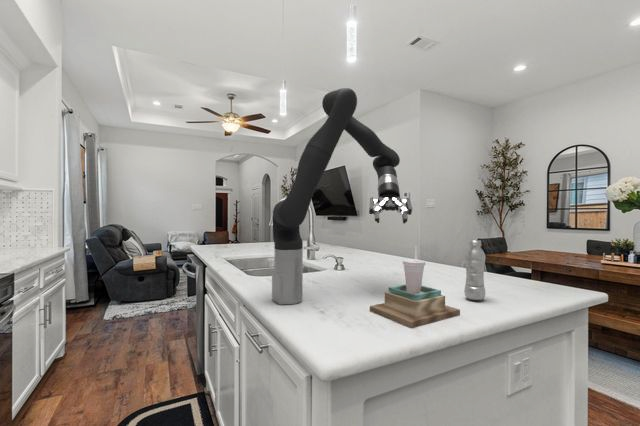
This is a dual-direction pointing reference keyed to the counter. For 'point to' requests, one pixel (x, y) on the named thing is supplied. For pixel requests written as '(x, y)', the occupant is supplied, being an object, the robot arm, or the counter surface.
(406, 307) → the pedestal
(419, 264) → the smoothie
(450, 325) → the counter surface
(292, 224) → the robot arm
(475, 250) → the plastic bottle
